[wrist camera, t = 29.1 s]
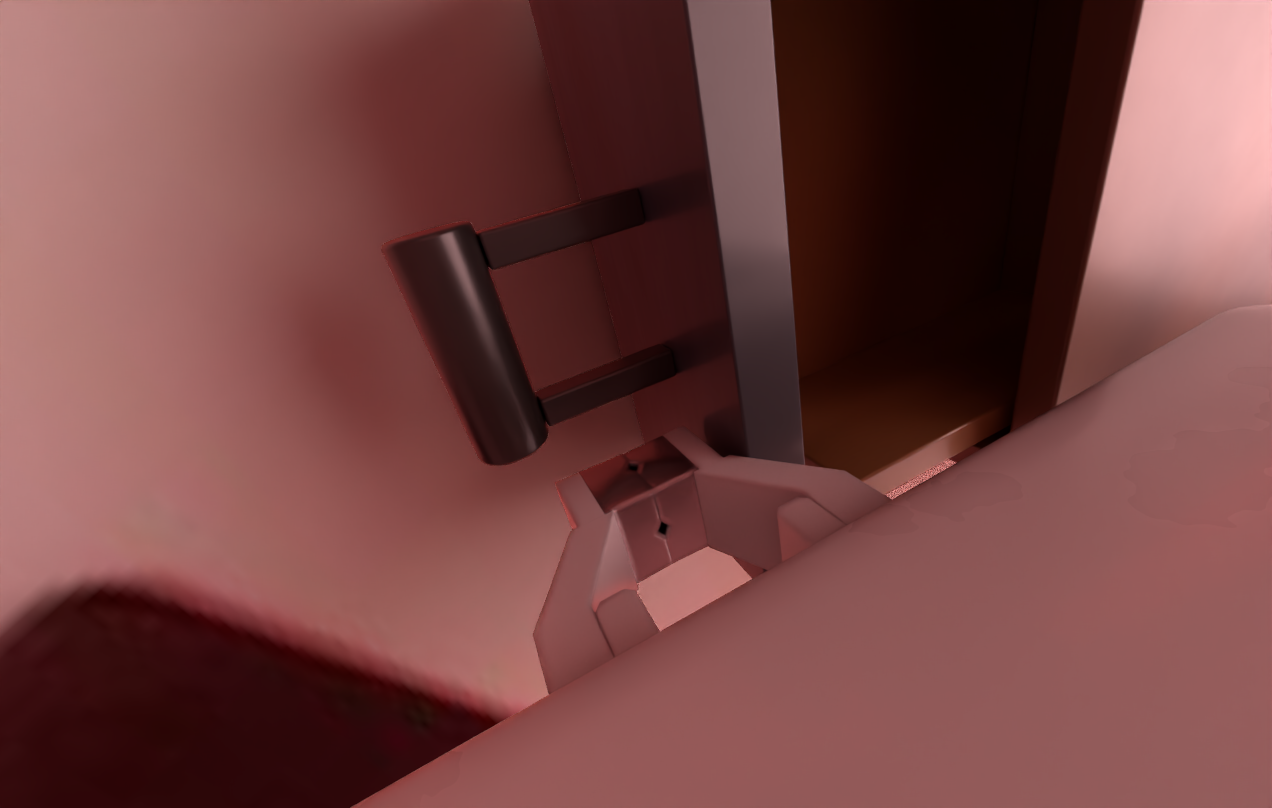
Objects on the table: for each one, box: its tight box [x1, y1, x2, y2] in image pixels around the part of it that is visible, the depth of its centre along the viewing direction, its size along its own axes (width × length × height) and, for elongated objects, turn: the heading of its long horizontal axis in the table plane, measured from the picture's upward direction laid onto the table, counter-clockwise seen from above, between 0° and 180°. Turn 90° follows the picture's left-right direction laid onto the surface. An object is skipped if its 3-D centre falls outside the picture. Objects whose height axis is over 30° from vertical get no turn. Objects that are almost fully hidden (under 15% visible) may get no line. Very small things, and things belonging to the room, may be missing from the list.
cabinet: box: [950, 0, 1272, 463], centre depth 13 cm, size 16×14×8 cm
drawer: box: [381, 0, 1082, 579], centre depth 11 cm, size 19×12×6 cm, turn 103°
